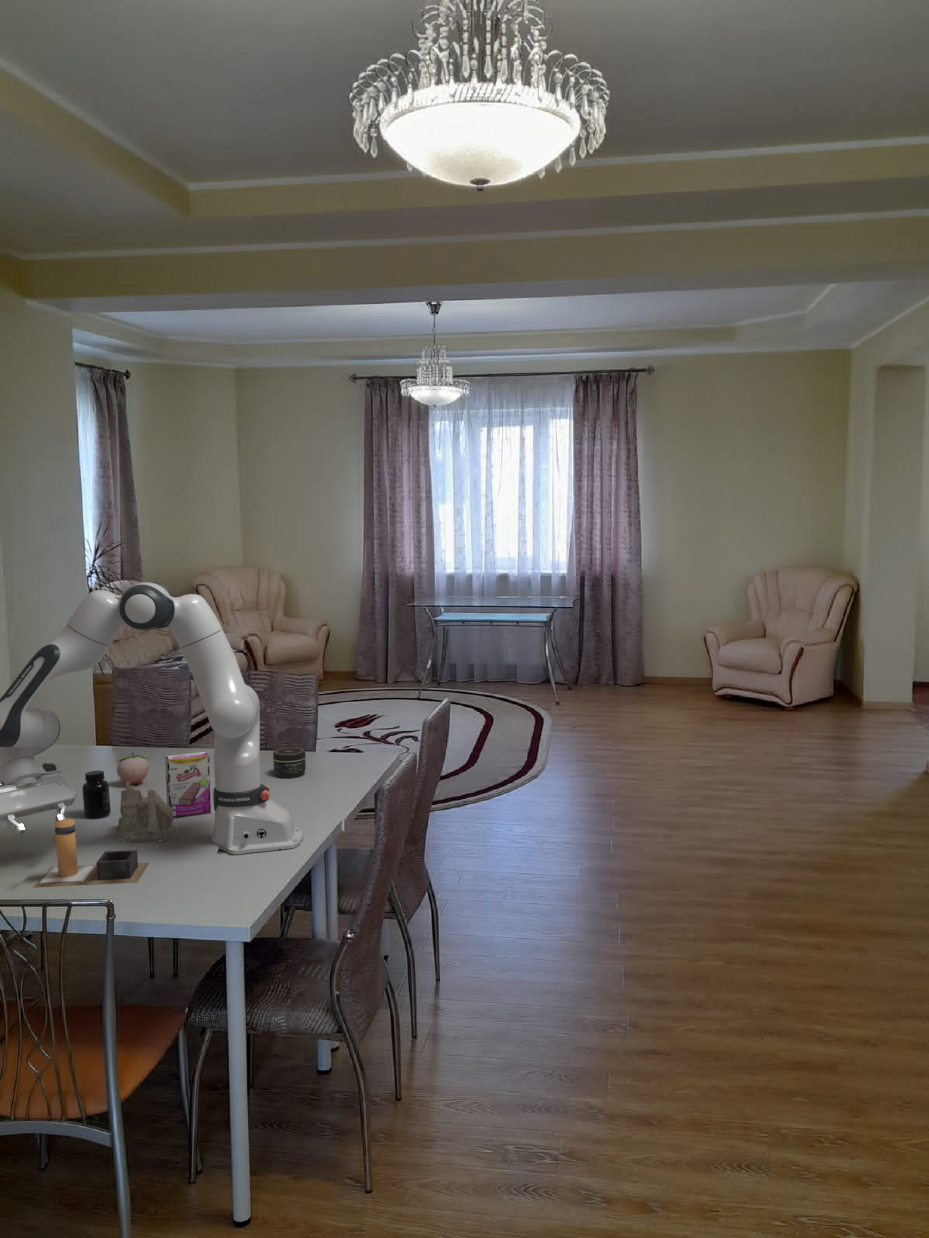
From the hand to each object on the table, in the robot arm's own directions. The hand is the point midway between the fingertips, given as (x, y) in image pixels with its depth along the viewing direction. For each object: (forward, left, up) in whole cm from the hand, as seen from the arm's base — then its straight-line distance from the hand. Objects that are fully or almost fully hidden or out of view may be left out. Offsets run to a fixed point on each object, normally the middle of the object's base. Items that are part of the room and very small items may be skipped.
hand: (41, 827), depth 225 cm
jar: (-50, -75, -10) cm, 90 cm away
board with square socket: (-13, +8, -10) cm, 19 cm away
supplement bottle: (-1, -41, -10) cm, 42 cm away
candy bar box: (-26, -39, -10) cm, 48 cm away
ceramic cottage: (-18, -25, -11) cm, 33 cm away
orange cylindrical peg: (-8, +8, -8) cm, 14 cm away
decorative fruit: (-4, -70, -10) cm, 71 cm away
